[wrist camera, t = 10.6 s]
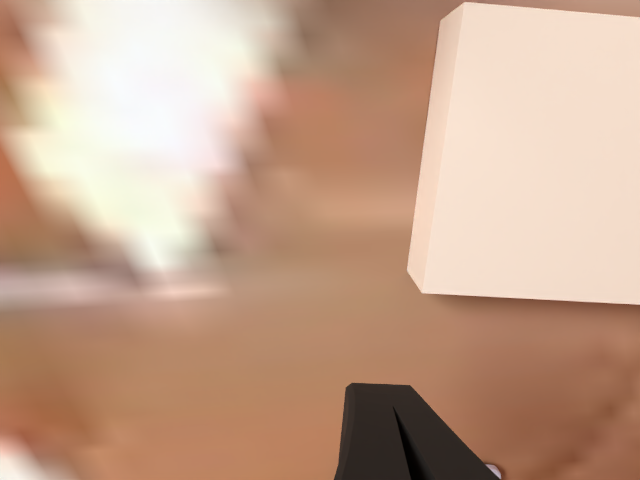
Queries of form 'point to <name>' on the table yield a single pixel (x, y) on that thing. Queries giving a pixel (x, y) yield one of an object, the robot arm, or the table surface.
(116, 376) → the table surface
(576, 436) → the table surface
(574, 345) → the table surface
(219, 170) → the table surface
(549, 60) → the board
